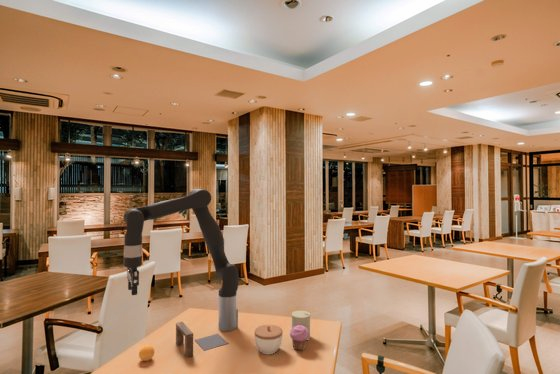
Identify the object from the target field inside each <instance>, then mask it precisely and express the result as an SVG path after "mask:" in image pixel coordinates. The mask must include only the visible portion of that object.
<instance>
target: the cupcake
mask: <svg viewBox="0 0 560 374" xmlns="http://www.w3.org/2000/svg"><path fill="white" fill-rule="evenodd" d="M289 336H290V338H291V341H292V348H293V349H294V350H297V349H298V351H304V349H305V346H306V343H307V341H306V340H307V338H308V337H309V331H308V329H307V328H306V327H305V326H302V325H297V326H295V327H293V328H292V327H291V329H290V331H289Z"/></svg>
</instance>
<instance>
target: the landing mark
mask: <svg viewBox="0 0 560 374" xmlns="http://www.w3.org/2000/svg"><path fill="white" fill-rule="evenodd" d="M194 341H195V342H196V343H197V345H198V346H199V347H200V348H201V349H202V350H203V351H209V350H211V349H214V348H217V347H221V346H225V345H228V344H229V342H228V341H227V340H226V339H225V338H223V337H222V335H220V333H216V334H211V335H208V336H204V337H201V338H196V339H195V340H194Z"/></svg>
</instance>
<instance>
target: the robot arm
mask: <svg viewBox="0 0 560 374" xmlns="http://www.w3.org/2000/svg"><path fill="white" fill-rule="evenodd" d="M211 201H212V195H211V193H210V191H209V190H206V189H204V188H194V189H192V190H190V191H189V193H188V195H185V196H183V197H178V198H173V199H167V200H162V201H158V202H155V203H152V204H149V205H144V206H140V207H134V208H130V209H128V210H126V211H125V212H124V214H123V221H124V222H125V223H126V232H125V234H124V241H123V242H124V246H123V267H124V268H126V274H127V275H126V280H127V289H128V290H129V291H131V293H130V294H131V296H137V295H138V286H139V285H140V271H139V270H138V267H141V266H142V265H143V231H144V225H145V222H146V221H148V220H149V221H152V220H153V221H154V220H157V219H160V218H163V217H167V216H171V215H173V214H176V213H180V212H182V211H187V210H192V211H193V213H194V215H195V218H196V220H197V223H198V226H199V229H200V231H201V233H202V236H203V240H204V242H205V245H206V247H207V249H208V252H209V254H210V256H211V258H212V259H211V260H212V262H213V265H214V270H215V273H216V275H217V278H218V279H219V280H221V288H219V289H218V323H217V324H218V330H219V331H222V332H231V331H234V330H235V329H238V328H239V309H238V308H237V296H238V295H237V292H238V289H239V278H240V276H239V269H238V267H237V266H236V265H234V264H231V263H230V262H229V259H228V257H227V255H226V252H225V239H224V234H223V233H222V230H221V228H220V226H219V224H218V222H217V221H216V220H215V218H214V217H213V215H212V214H211V212H210V210H209V208H208V206H210V205H209V204H211Z"/></svg>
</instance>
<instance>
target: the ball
mask: <svg viewBox="0 0 560 374" xmlns="http://www.w3.org/2000/svg"><path fill="white" fill-rule="evenodd" d="M154 348H155V347H154V346H152V345H150V344H147V345H144V346H142V347H141V348H140V350H139V353H138V357H139V359H140V360H141V361H143V362H147V361H150V360H152V358H153V357H154V355H155V349H154Z"/></svg>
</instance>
